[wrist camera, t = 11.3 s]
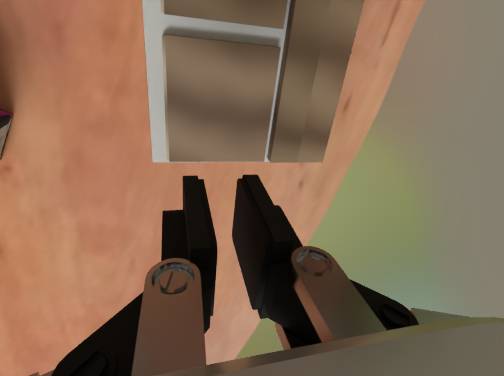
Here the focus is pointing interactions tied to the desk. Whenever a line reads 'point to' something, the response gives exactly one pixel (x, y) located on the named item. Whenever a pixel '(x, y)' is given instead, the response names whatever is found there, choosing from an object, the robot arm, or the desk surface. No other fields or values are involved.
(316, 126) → the laid strip
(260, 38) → the underlay
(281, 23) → the plank
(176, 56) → the plank
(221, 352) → the desk surface
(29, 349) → the desk surface
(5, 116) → the candy bar box
